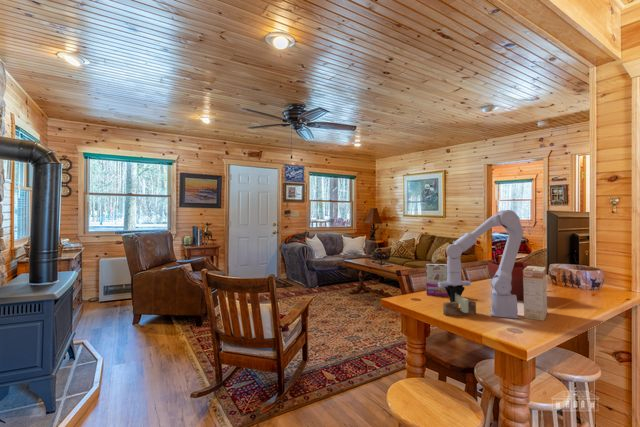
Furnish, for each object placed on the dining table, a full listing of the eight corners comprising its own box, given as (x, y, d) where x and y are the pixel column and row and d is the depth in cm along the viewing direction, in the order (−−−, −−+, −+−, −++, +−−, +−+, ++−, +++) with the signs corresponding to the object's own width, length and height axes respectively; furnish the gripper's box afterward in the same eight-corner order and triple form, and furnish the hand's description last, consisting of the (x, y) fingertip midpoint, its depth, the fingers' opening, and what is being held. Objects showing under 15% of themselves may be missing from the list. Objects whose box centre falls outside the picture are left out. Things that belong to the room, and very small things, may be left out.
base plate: (473, 312, 142) (472, 300, 142) (476, 313, 140) (475, 301, 140) (443, 314, 139) (443, 302, 139) (446, 315, 137) (445, 303, 137)
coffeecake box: (528, 309, 145) (527, 265, 145) (548, 312, 140) (546, 266, 140) (523, 318, 133) (522, 270, 133) (544, 321, 129) (543, 271, 129)
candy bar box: (448, 294, 175) (447, 263, 176) (448, 296, 171) (448, 265, 171) (426, 293, 179) (425, 263, 179) (426, 295, 174) (425, 264, 174)
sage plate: (450, 305, 145) (451, 292, 144) (454, 305, 145) (454, 292, 145) (464, 313, 135) (464, 299, 135) (468, 312, 135) (468, 299, 135)
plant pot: (547, 302, 157) (546, 267, 157) (507, 302, 157) (506, 267, 157) (523, 293, 176) (522, 261, 176) (487, 293, 176) (486, 262, 176)
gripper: (463, 269, 149) (464, 299, 148) (434, 271, 146) (434, 301, 146) (473, 272, 142) (474, 303, 141) (442, 273, 139) (443, 305, 139)
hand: (454, 302), depth 143 cm, fingers closed on sage plate, 2 cm apart
